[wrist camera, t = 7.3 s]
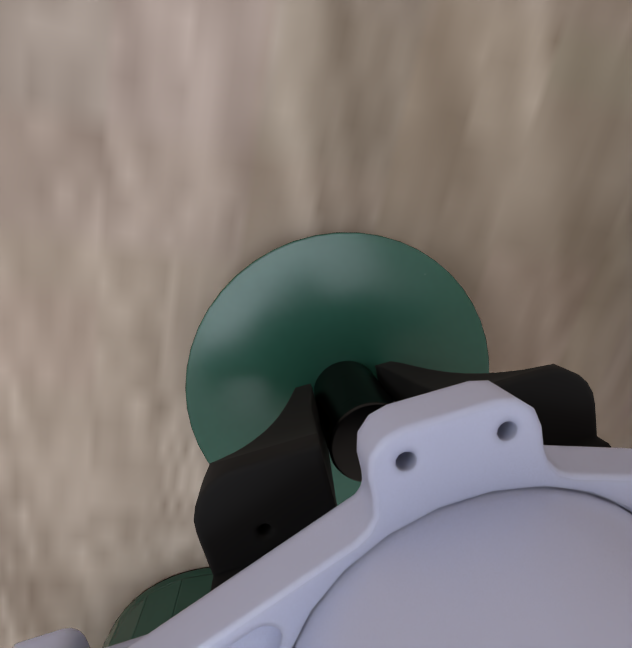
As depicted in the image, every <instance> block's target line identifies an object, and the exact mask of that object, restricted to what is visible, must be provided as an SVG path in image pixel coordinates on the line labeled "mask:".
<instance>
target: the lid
mask: <svg viewBox="0 0 632 648" xmlns="http://www.w3.org/2000/svg"><path fill="white" fill-rule="evenodd" d="M389 361H393V362H399V363H404V364H408V365H412V366H417V367H421V368H426V369H431V370H437V371H444V372H454V373H489V356H488V349H487V343H486V338H485V334H484V331H483V328H482V324H481V321H480V319H479V317H478V314H477V312H476V310H475V308H474V306H473V304H472V302H471V301H470V299H469V297H468V296H467V294H466V293H465V291H464V290H463V288H462V287H461V286H460V285H459V283H458V282H457V281H456V280H455V279H454V278H453V277H452V275H451V274H450V273H449V272H448V271H446V270H445V269H444V268H443V267H442V266H441V265H439V264H438V263H437V262H436V261H435V260H433V259H432V258H430V257H429V256H427V255H425V254H424V253H422V252H421V251H419V250H417V249H415V248H413V247H411V246H409V245H406V244H404V243H402V242H400V241H396V240H393V239H389V238H386V237H383V236H379V235H372V234H365V233H343V232H337V233H329V234H322V235H315V236H311V237H307V238H304V239H300V240H296V241H293V242H290V243H288V244H286V245H283V246H281V247H279V248H276V249H274V250H272V251H270V252H269V253H267V254H265V255H264V256H262V257H260V258H259V259H257V260H255V261H254V262H252V263H251V264H250V265H249V266H247V267H246V268H245V269H244V270H242V271H241V272H240V273H239V274H237V275H236V276H235V277H234V278H233V279H232V280H231V281H230V282H229V284H228V285H227V286H226V287H225V288H224V289H223V290H222V291H221V292H220V293H219V295H218V296H217V298H216V299H215V300H214V302H213V303H212V305H211V306H210V307H209V309H208V310H207V312H206V314H205V316H204V318H203V320H202V322H201V324H200V325H199V327H198V330H197V333H196V335H195V338H194V341H193V344H192V346H191V350H190V355H189V360H188V364H187V371H186V387H185V389H186V401H187V410H188V414H189V419H190V423H191V427H192V430H193V432H194V435H195V438H196V440H197V443H198V445H199V447H200V449H201V450H202V452H203V454H204V456H205V458H206V459H207V461H208V463H209V464H210V463H212V462H214V461H217V460H219V459H221V458H223V457H225V456H228V455H230V454H232V453H234V452H236V451H237V450H239V449H241V448H243V447H244V446H246V445H247V444H249V443H250V442H252V441H253V440H254V439H256V438H257V437H258V436H259V435H261V434H262V433H263V432H264V431H265V430H267V429H268V428H269V427H270V425H271V424H272V423H273V422H274V421H275V420H276V419H277V418H278V416H279V415H280V414H281V412H282V411H283V409H284V408H285V406H286V404H287V403H288V401H289V399H290V397H291V395H292V393H293V391H294V389H295V388H296V387H299V386H303V385H307V384H310V383H311V386H312V389H313V393H314V397H315V401H316V404H317V408H318V412H319V417H320V422H321V426H322V429H323V433H324V436H325V440H326V443H327V447H328V450H329V456H330V462H331V469H332V476H333V482H334V489H335V496H336V501H337V506H338V505H339V504H341V503H342V502H344V501H345V500H347V499H348V498H350V497H351V496H353V495H354V494H355V493H356V492H357V491H358V489H359V487H360V486H361V481H362V473H361V467H360V463H359V459H358V455H357V432H358V430H359V429H360V427H361V426H362V424H363V423H364V421H365V419H366V418H367V416H368V415H369V414H371V413H373V412H374V411H376V410H378V409H380V408H381V407H383V406H385V405H387V404H390V403H394V402H395V401H394V399H393V398H392V397H391V396H390V394H389V393H388V392H387V391H386V390H385V388H384V387H383V386H382V385H381V383H380V382H379V381H378V378H377V373H376V368H375V365H378V364H382V363H386V362H389Z"/></svg>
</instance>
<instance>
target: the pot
mask: <svg viewBox="0 0 632 648" xmlns="http://www.w3.org/2000/svg"><path fill="white" fill-rule="evenodd" d="M212 580H213V574H212V571H211V569H210V568H202V569H198V570H193V571H188V572H185V573H182V574H179V575H176V576H173V577H171V578H168V579H166V580H164V581H162V582H160V583H158V584H156V585H155V586H153V587H151V588H150V589H148V590H146V591H145V592H144V593H142V594H141V595H140V596H138V597H137V598H136V599H135V600H134V601H133V602H132V603H131V604H130V605H129V606H128V607H127V608H126V609H125V610H124V611H123V613H122V614H121V615H120V616H119V618H118V619H117V621H116V622H115V624H114V626H113V628H112V629H111V631H110V634H109V636H108V638H107V639H106V641H105V643H104V645H103V647H102V648H106V647H109V646H112V645H115V644H119V643H122V642H125V641H128V640H131V639H134V638H137V637H141V636H144V635H147V634H148V633H150V632H151V631H153V630H154V629H156V628H157V627H159V626H160V625H162V624H163V623H165V622H166V621H168V620H169V619H171V618H172V617H174V616H175V615H177V614H178V613H180V612H181V611H183V610H184V609H185V608H187V607H188V606H190V605H191V604H193V603H194V602H196V601H197V600H199V599H200V598H202V597H203V596H205V595H206V594H208V593H209V592H210V591H211V585H212Z"/></svg>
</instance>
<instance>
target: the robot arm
mask: <svg viewBox="0 0 632 648" xmlns="http://www.w3.org/2000/svg"><path fill="white" fill-rule="evenodd" d="M375 368H376V373H377V378H378V381H379V382H380V383H381V385H382V386H383V387H384V388H385V390H386V391H387V392H388V393H389V394H390V396H391V397H392V398H393V399H394V401H395V402H394V403H390V404H387V405H385V406H383V407H381V408H380V409H378V410H376V411H374V412H373V413H371V414H369V415H368V416H367V418H366V419H365V421H364V423H363V424H362V426H361V427H360V429H359V430H358V432H357V455H358V459H359V463H360V467H361V473H362V481H361V486H360V487H359V489H358V491H357V492H356V493H355V494H354V495H353V496H351V497H350V498H348V499H347V500H345V501H344V502H342V503H341V504H339V505H338V506H337V501H336V496H335V489H334V482H333V476H332V469H331V462H330V456H329V450H328V447H327V443H326V440H325V436H324V433H323V429H322V426H321V422H320V417H319V412H318V408H317V404H316V401H315V397H314V393H313V389H312V386H311V383H310V384H307V385H303V386H299V387H296V388H295V389H294V391H293V393H292V395H291V397H290V399H289V401H288V403H287V404H286V406H285V408H284V409H283V411H282V412H281V414H280V415H279V416H278V418H277V419H276V420H275V421H274V422H273V423H272V424H271V425H270V427H269V428H268V429H267V430H265V431H264V432H263V433H262V434H261V435H259V436H258V437H257V438H256V439H254V440H253V441H252V442H250V443H249V444H247V445H246V446H244V447H243V448H241V449H239V450H237V451H236V452H234V453H232V454H230V455H228V456H225V457H223V458H221V459H219V460H217V461H214V462H212V463H210V465H209V467H208V470H207V472H206V474H205V477H204V480H203V483H202V485H201V489H200V492H199V496H198V499H197V503H196V506H195V514H194V523H195V528H196V532H197V535H198V538H199V540H200V543H201V546H202V548H203V551H204V553H205V556H206V558H207V561H208V564H209V566H210V569H211V571H212V574H213V580H212V585H211V591H210V592H209V593H208V594H206V595H205V596H203V597H202V598H200V599H199V600H197V601H196V602H194V603H193V604H191V605H190V606H188V607H187V608H185V609H184V610H183V611H181V612H180V613H178V614H177V615H175V616H174V617H172V618H171V619H169V620H168V621H166V622H165V623H163V624H162V625H160V626H159V627H157V628H156V629H154V630H153V631H151V632H150V633H148V634H147V635H144V636H141V637H137V638H134V639H131V640H128V641H125V642H122V643H119V644H115V645H112V646H109V647H106V648H632V448H611V446H610V445H609V443H607V442H605V441H604V440H602V439H600V438H599V437H597V430H596V414H595V402H594V397H593V392H592V390H591V389H590V387H589V385H588V383H587V382H586V381H585V380H584V379H583V378H582V377H581V376H580V375H578V374H576V373H574V372H571V371H569V370H567V369H564V368H562V367H560V366H557V365H555V364H551V365H546V366H540V367H535V368H530V369H525V370H518V371H509V372H499V373H454V372H444V371H437V370H431V369H426V368H421V367H417V366H412V365H408V364H404V363H399V362H393V361H389V362H386V363H382V364H378V365H375ZM13 648H90V647H89V643H88V641H87V639H86V637H85V636H84V635H83V634H82V633H81V632H80V631H79V630H77V629H74V628H65V629H60V630H57V631H54V632H51V633H48V634H44V635H41V636H38V637H35V638H32V639H28V640H25V641H22V642H19V643H16V644H15V645H14V646H13Z"/></svg>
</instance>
